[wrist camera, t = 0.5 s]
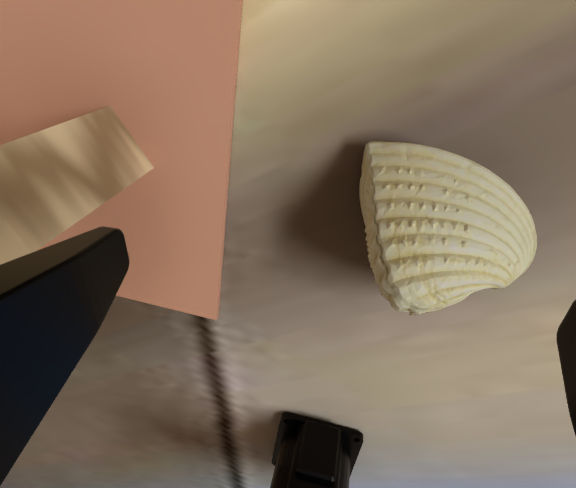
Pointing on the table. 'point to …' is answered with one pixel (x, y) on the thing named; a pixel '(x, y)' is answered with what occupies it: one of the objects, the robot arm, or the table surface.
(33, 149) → the birch block
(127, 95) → the rubber mat
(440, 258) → the seashell
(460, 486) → the table surface
